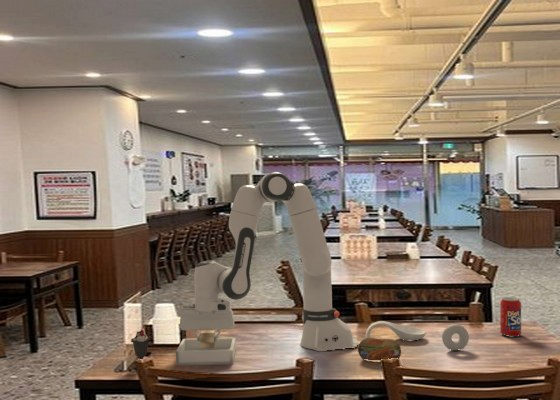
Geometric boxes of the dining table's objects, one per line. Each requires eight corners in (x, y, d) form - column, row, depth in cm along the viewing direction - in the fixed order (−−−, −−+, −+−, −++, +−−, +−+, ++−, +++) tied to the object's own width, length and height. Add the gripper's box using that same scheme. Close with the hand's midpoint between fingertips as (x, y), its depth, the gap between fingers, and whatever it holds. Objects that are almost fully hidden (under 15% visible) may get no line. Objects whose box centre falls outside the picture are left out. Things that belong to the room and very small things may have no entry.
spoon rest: (423, 335, 235) (423, 318, 234) (428, 344, 223) (428, 325, 222) (364, 335, 236) (364, 318, 236) (366, 344, 225) (366, 325, 224)
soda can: (503, 331, 237) (503, 295, 236) (523, 334, 232) (523, 297, 231) (498, 336, 230) (497, 299, 230) (518, 339, 226) (518, 301, 225)
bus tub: (235, 350, 219) (235, 337, 219) (232, 364, 203) (232, 350, 203) (183, 351, 219) (183, 338, 219) (176, 365, 203) (175, 351, 203)
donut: (466, 348, 215) (466, 322, 215) (470, 351, 212) (470, 324, 211) (440, 350, 214) (440, 323, 214) (444, 352, 211) (443, 326, 210)
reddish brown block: (199, 341, 233) (199, 324, 232) (198, 344, 228) (197, 327, 227) (187, 341, 233) (187, 324, 232) (185, 345, 228) (185, 327, 227)
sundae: (146, 371, 198) (145, 328, 198) (128, 370, 200) (127, 327, 199) (154, 364, 205) (153, 323, 204) (137, 364, 206) (135, 322, 205)
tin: (357, 361, 204) (357, 337, 204) (360, 358, 207) (359, 335, 207) (400, 365, 199) (400, 341, 198) (402, 362, 201) (401, 338, 201)
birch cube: (215, 343, 217) (214, 330, 217) (213, 347, 212) (213, 334, 212) (201, 344, 217) (201, 331, 217) (200, 348, 212) (199, 334, 212)
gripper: (177, 306, 211) (178, 343, 211) (233, 305, 211) (233, 342, 212) (180, 302, 217) (181, 339, 218) (234, 301, 217) (235, 337, 218)
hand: (207, 340), depth 215 cm, fingers closed on birch cube, 5 cm apart
